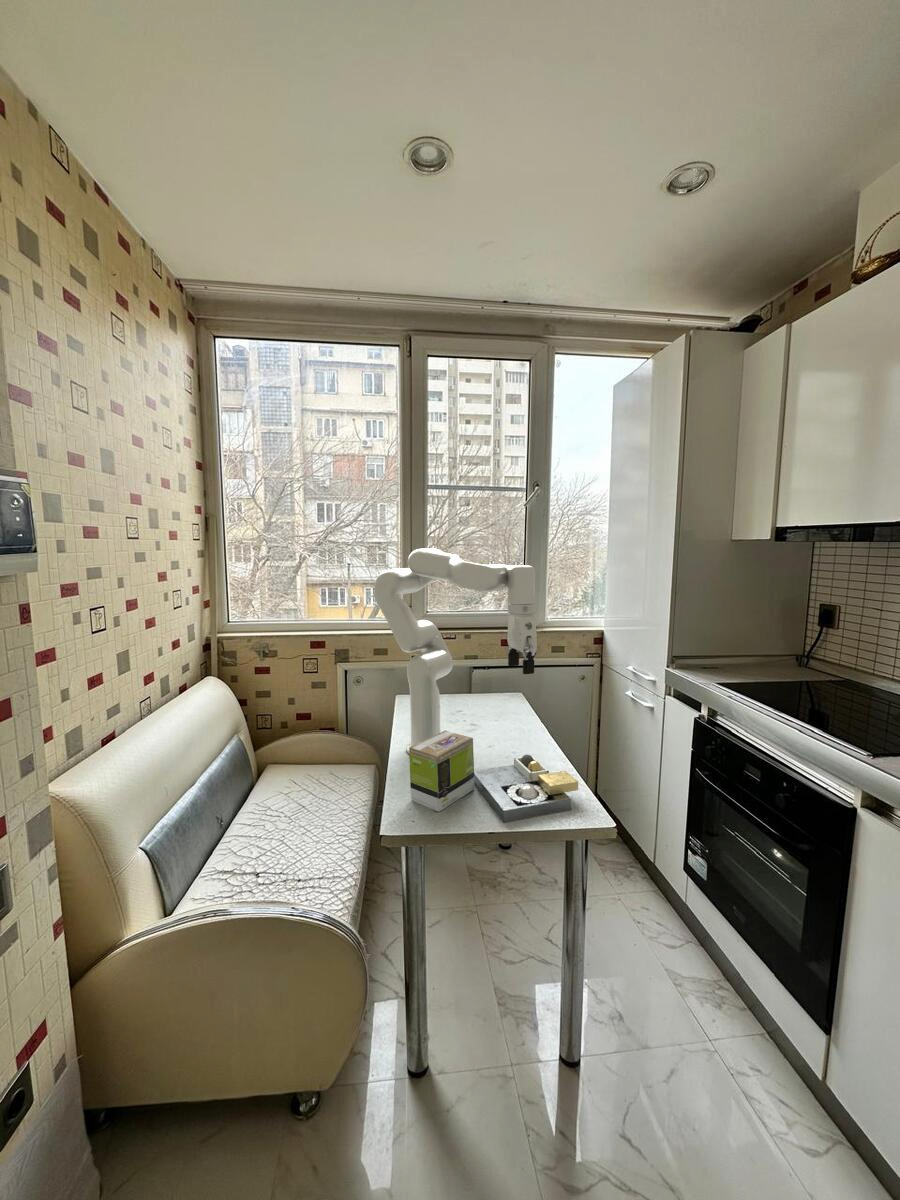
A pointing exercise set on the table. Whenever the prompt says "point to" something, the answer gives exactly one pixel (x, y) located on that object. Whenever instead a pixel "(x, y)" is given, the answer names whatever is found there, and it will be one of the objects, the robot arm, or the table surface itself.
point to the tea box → (441, 769)
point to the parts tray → (529, 775)
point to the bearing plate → (516, 794)
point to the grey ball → (526, 760)
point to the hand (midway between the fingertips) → (520, 669)
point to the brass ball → (534, 766)
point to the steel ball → (527, 792)
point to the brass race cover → (557, 782)
